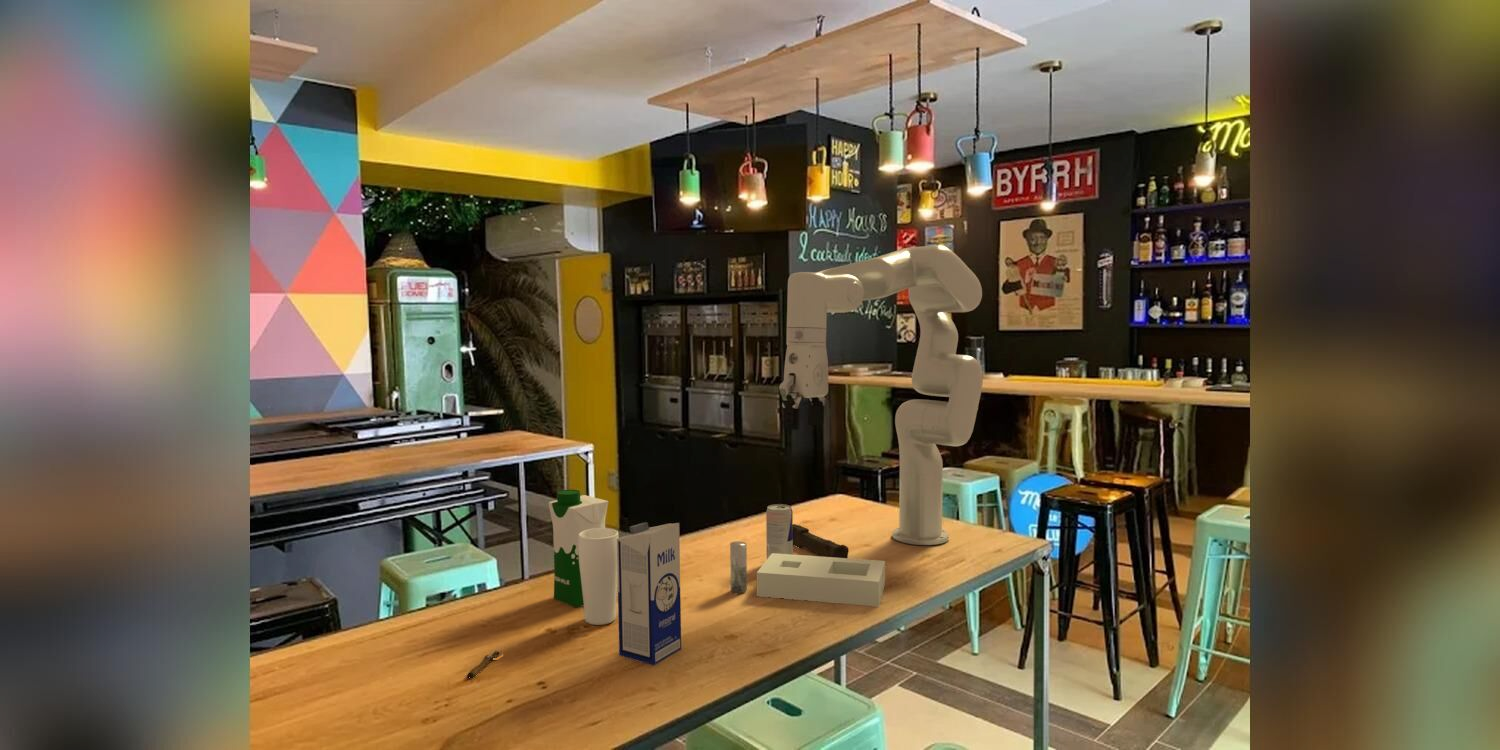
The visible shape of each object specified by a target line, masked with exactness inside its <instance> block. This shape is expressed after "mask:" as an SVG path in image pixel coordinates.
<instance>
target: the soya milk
mask: <svg viewBox="0 0 1500 750" xmlns="http://www.w3.org/2000/svg"><path fill="white" fill-rule="evenodd" d="M556 497H557V498H556V500H551V501H549V502H548V507H549V513H550V517H551V523H552V530H553V531H552V532H553V563H554V564H553V565H554V567H553V568H554V569H553V570H554V572H553V573H554V574H553V575H554V577H553V578H554V580H553V581H554V582H553V583H554V584H553V599H554V600H557V601H559V602H561V603H563V604H566V605H568V606H570V607H572V608H573V607H574V608H575V609H576V608H579V607H582V606H583V607H584V603H583V594H582V585H581V576H580V568H579V557H578V535H579V533H580V532H582V531H585V530H589V529H595V528H606V517H607V510H608V506H609V501H608V500H605V499H602V498H598V497H593V496H590V495H585V494H584V495H583V494H582V495H581V491H580V490H579V489H563V490H559V491H558V492H557V494H556Z"/></svg>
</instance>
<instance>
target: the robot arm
mask: <svg viewBox="0 0 1500 750" xmlns="http://www.w3.org/2000/svg"><path fill="white" fill-rule="evenodd" d="M907 289H908V300H909V302H910V305H911V307H912V309H913V310H914V313H915V315H916V318H917V320H918V323H919V328H920V334H919V336H920V337H919V341H918V347H917V350H916V356H915V359H914V364H913V369H912V373H911V375H912V376H911V385H912V387H913V389H914V390H915V391H916V392H917V393H919V394H922V395H925V396H931V397H934V396H935V397H945V398H949V399H948V401H941V400H934V399H933V400H932V399H931V400H930V399H921V398H920V399H918V398H917V399H916V398H914V399H909V400H907V401H905V402H903V403H901V405H899V407H898V408H897V409H896V412H895V417H894V425H895V430H896V434H897V435H896V436H897V441H898V449H899V451H898V452H899V504H898V505H899V508H898V509H899V512H898V514H899V516H898V517H899V519H898V521H899V523H898V524H899V526H898V527H896V528H895V529H893V530H892V538H893V539H894V540H896V541H897V542H899V543H904V544H908V545H914V546H934V545H935V546H936V545H942V544H944V543H947V542H948V541H949V540H950V534H949V532H947V531H946V530H944V529H943V477H944V476H943V475H944V473H943V471H944V470H943V469H944V467H943V458H942V455H941V452H940V450H939V447H937V445H941V446H948V447H960V446H963V445H965V444H967V443H968V441H969V440H970V438H971V436H972V434H973V432H974V428H975V427H974V426H975V423H976V419H977V413H978V409H979V403H980V399H981V395H982V388H983V385H984V384H983V382H984V379H983V377H984V376H983V369H982V366H981V364H980V362H979V361H978V360H977V359H976V358H975V357H973V356H971V355H967V354H957V348H958V343H959V333H958V329H957V327H956V325H955V323H954V321H953V319H952V318H951V316H950V315H949V313H968V312H971V311H974V310H975V309H976V308H977V307H978V306H980V303H981V301H982V298H983V289H982V285H981V282H980V280H979V278H978V277H977V276H976V274H975V272H973V271H972V269H970V268H969V267H968V265H967V264H966V263H965V262H964V261H963V260H962V258H960V257H959V256H958V255H957V254H956V253H955V252H953V251H952V250H951V249H949V248H948V247H946V246H944V245H925V246H910V247H905V248H901V249H897V250H894V251H891V252H889V253H886V254H882V255H880V256H876V257H872V258H868V259H864V260H859V261H856V262H851V263H849V264H844V265H840V266H835V267H831V268H827V269H823V270H819V271H817V272H812V271H805V272H804V271H799V272H794V273H791V274H790V276H789V277H788V279H787V308H786V309H787V310H786V311H787V312H786V345H787V346H786V350H785V351H786V352H785V360H784V368H783V369H784V371H783V381H782V382H781V383H780V384H779V386H778V388H779V393H780V400H781V403H782V404H781V406H782V408H783V417H782V418H783V419H782V421H783V422H782V423H783V425H782V428H783V429H784V430H791V431H792V430H793V431H798V430H800V426H801V425H800V422H801V421H800V416H801V415H800V414H801V409H800V408H799V405H800V402H801V400H802V397H803V398H805V399H809V402H810V404H808V425H811V426H819V427H821V426H824V424H825V405H826V402H827V401H826V398H827V397H828V396H827V395H828V393H829V383H830V382H829V361H828V353H827V352H828V351H827V317H828V315H827V313H835V314H836V313H837V314H838V313H841V314H842V313H850V312H852V311H854V310H856V309H858V308H859V307H860V306H861V304H862V302H863V301H871V300H872V301H873V300H877V299H884V298H887V297H890V296H891V295H895V294H897V293H900V292H902V291H905V290H907Z"/></svg>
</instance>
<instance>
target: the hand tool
mask: <svg viewBox="0 0 1500 750" xmlns="http://www.w3.org/2000/svg"><path fill="white" fill-rule="evenodd" d="M794 545H795V546H794ZM793 546H794V547H796V546H797V547H799V548H798V549H806V550H808V551H810V552H814V553H816V554H818V555H820V556H821V557H835V558H849V551H850V550H849V547H848V546H847V545H846V544H839V543H836V542H834V541H832V540H830V539H825V538H822V537H820V536H817V535H816V534H813V533H811V532H810V530H809V529H808V528H806V527H803V526H802V525H800V524H796V523H793ZM797 547H796V548H797Z"/></svg>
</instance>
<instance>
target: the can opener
mask: <svg viewBox="0 0 1500 750" xmlns="http://www.w3.org/2000/svg"><path fill="white" fill-rule="evenodd" d="M497 653H499V654H500V651H499V650H494V651H493V652H492V654H491V656H489V655H488V654H487V655H485V656H484V657H483V658H484V660H482V661H481V662H480V663H479V664H478V665H476V666H475V667H474V668H472V669H471V670H470V671H469V672H468V673H467V674H466V677H467V679H470V678H473V677H474V678H476V677H477V676H478V675H479V674H481V672H482V671H483V670H484V669H485V668H486V667H488V666H489V665H490V664H491V662H492V661H491V660H493V658H495V657H497V655H498V654H497ZM489 663H490V664H489ZM488 664H489V665H488ZM487 665H488V666H487ZM485 666H486V667H485ZM484 667H485V668H484ZM483 668H484V669H483ZM482 669H483V670H482ZM480 671H481V672H480ZM478 673H479V674H478ZM477 674H478V675H477ZM476 675H477V676H476ZM475 676H476V677H475ZM469 677H470V678H469ZM474 678H473V679H474Z"/></svg>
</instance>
